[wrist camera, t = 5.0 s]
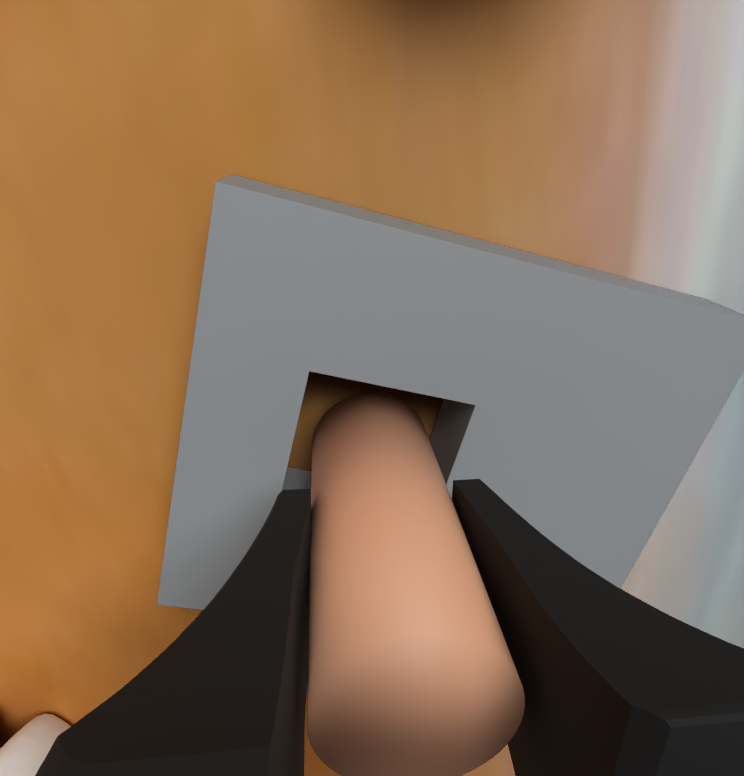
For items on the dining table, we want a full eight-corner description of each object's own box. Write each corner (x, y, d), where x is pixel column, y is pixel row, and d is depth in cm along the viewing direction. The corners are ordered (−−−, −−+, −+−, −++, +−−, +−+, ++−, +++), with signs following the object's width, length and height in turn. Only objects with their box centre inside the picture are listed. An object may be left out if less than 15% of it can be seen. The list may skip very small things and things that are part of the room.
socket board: (706, 299, 16) (769, 325, 14) (554, 598, 21) (583, 654, 19) (232, 174, 14) (215, 181, 12) (176, 547, 18) (156, 604, 16)
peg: (424, 387, 15) (530, 626, 7) (428, 487, 16) (520, 772, 9) (305, 399, 15) (294, 655, 7) (318, 499, 16) (320, 800, 9)
